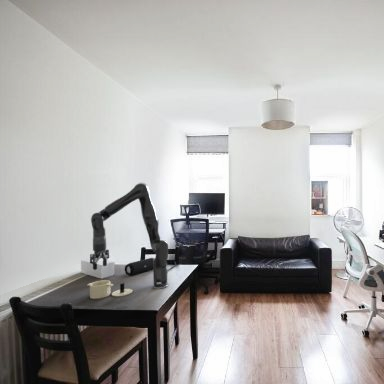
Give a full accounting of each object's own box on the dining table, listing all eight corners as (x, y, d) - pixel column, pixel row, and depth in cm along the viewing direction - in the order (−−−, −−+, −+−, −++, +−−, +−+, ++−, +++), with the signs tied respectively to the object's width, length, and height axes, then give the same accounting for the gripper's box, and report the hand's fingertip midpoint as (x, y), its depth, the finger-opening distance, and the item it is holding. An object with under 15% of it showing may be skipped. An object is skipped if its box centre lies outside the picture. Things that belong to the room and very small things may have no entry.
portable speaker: (131, 277, 210) (131, 264, 210) (124, 275, 215) (123, 263, 215) (158, 269, 232) (158, 257, 232) (151, 267, 237) (150, 256, 237)
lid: (119, 290, 182) (119, 279, 182) (136, 290, 180) (136, 280, 180) (107, 297, 170) (107, 286, 170) (124, 297, 168) (124, 286, 168)
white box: (81, 272, 225) (80, 260, 225) (94, 269, 234) (94, 257, 234) (101, 278, 208) (100, 265, 208) (114, 275, 217) (114, 261, 217)
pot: (95, 292, 178) (95, 279, 178) (118, 293, 176) (117, 280, 176) (81, 298, 167) (81, 285, 167) (106, 300, 165) (105, 286, 165)
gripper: (96, 245, 164) (97, 271, 164) (112, 240, 178) (112, 264, 178) (85, 245, 165) (86, 270, 165) (102, 240, 180) (102, 264, 180)
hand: (100, 267), depth 172 cm, fingers open, 8 cm apart
